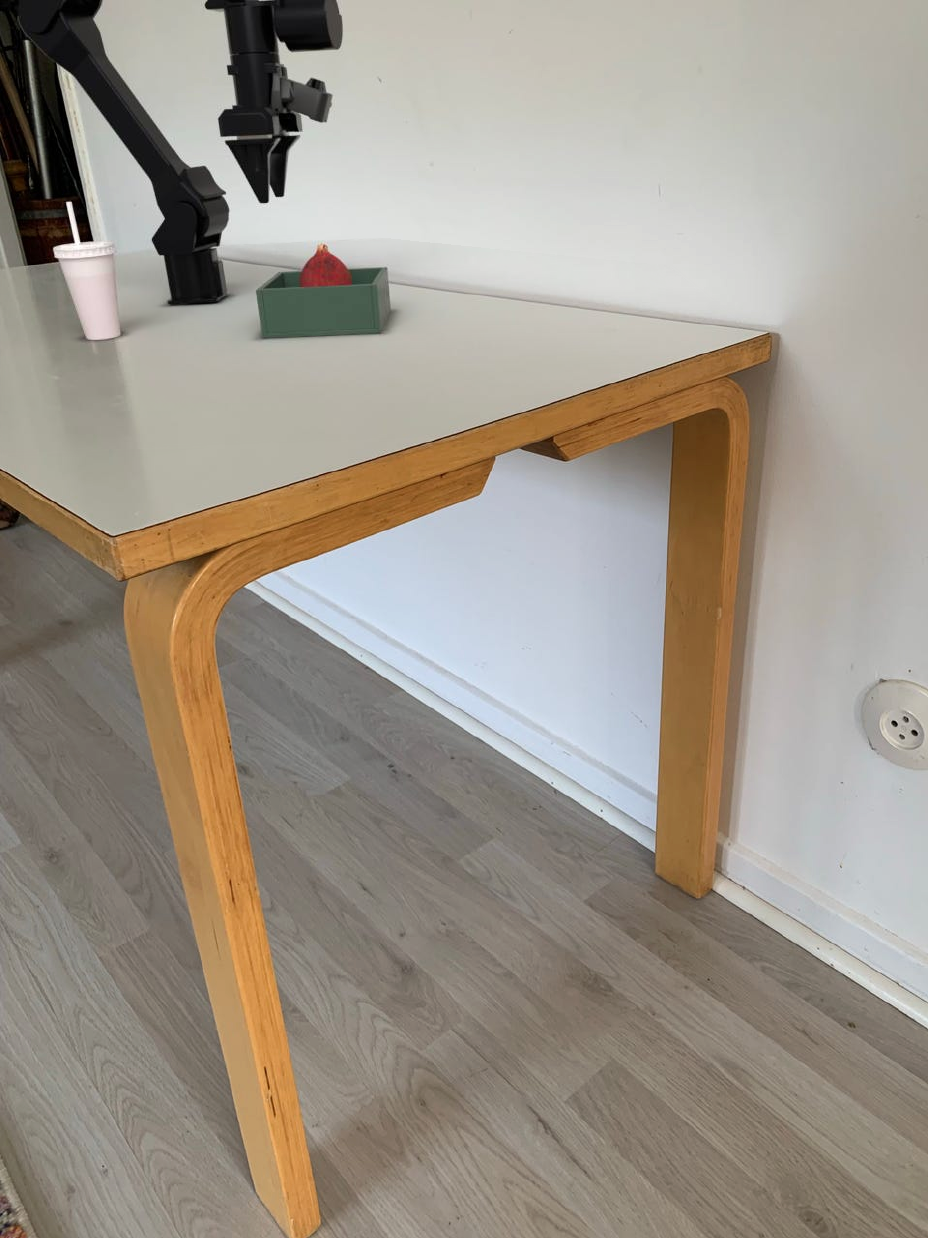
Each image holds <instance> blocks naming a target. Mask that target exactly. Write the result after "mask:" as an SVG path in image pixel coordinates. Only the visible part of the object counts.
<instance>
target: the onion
mask: <svg viewBox="0 0 928 1238" xmlns="http://www.w3.org/2000/svg"><path fill="white" fill-rule="evenodd" d="M348 269H349V268H348V267H347V266H346V265H345V263H344V262H343V261H342V260H341V259H340V258H338V257H337V256H336V255H334V254H333V253H331V252H330V251H329V247H328V245H326V244H325V243H323V242H322V243H320V244H318V245H317V248H316V252H315V253H314V254H313V256H311V257H310V258H309V259H308V260H307V262H305V264H304V266H303V268H302V270H301V271H302V272H301V276H300V287H314V286H337V285H352V278H351V275H350V273H349V271H348Z"/></svg>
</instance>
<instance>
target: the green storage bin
mask: <svg viewBox="0 0 928 1238" xmlns="http://www.w3.org/2000/svg"><path fill="white" fill-rule="evenodd" d="M347 269H348V271H349V273H350V275H351V278H352V285H337V286H314V287H300V276H301V272H302V270H292V271H291V270H290V271H289V270H288V271H278V272H277V273H275V274H274V275H273V276H272V277H271V278H269V279H268V280H267V281H265V282H264V283H263V284H262V285H260V286H259V287H257V289H255V293H256V301H257V308H258V309H257V310H258V316H259V322H260V328H261V329H260V330H261V336H262V339H275V338H278V339H280V338H299V337H302V338H303V337H324V336H348V335H349V336H350V335H370V334H371V335H372V334H381V333H382V331H383V329H384V327H385V324H386V323H387V321H388V318H389V316H390V314H391V311H392V309H391V296H390V284H389V271H388V267H387V266H382V267H381V266H380V267H360V268H359V267H358V268H347Z"/></svg>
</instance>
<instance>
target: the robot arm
mask: <svg viewBox="0 0 928 1238" xmlns="http://www.w3.org/2000/svg"><path fill="white" fill-rule="evenodd" d="M103 1H104V0H19V1H18V5H17V6H18V7H17V10H18V12H17V13H18V16H17V21H18V24H19V26H20V28H21V30H22V32H23V33H24V35H25V36H26V37H27V38H28V39H29V40H30V41H31V42H32V43H33V44H34V45H35V46H36V47H37V48H38V49H39V50H40V51H41V52H42V53H43V54H44V55H45V56H46V57H47V58H48V59H50V60H51V61H52V62H54V63H56V64H57V65H58V66H60V67H61V68H63V69H64V70H65V71H66V72H67V73H68V74H70V75H71V76H72V77H73V78H74V79H75V80H76V81H77V83H78V84H79V86H80V87H81V88H82V90H83V91H84V93H86V95H87V96H88V98H89V99H90V101H91V102H92V103H93V105H94V106H95V107H96V108H97V110H98V111H99V113H100V114H101V115H102V116H103V118H104V120H105V121H106V123H108V125H109V126H110V128H111V129H112V130H113V131H114V133H115V134H116V135H117V137H118V138H119V140H120V141H121V142H122V144H123V145H124V146H125V148H126V149H127V150H128V152H129V153H130V155H131V156H132V157H133V159H134V160H135V161H136V163H137V164H138V166H139V167H140V169H142V171H143V173H144V174H145V175H146V176H147V177H148V179H149V181H150V183H151V186H152V190H153V195H154V197H155V202H156V206H157V207H158V209H159V211H160V213H161V214H162V216H163V219H164V220H163V221H162V223H161V224H160V226H159V227H158V228H157V229H156V231H155V233H154V234H153V236H152V237H151V243H152V244H153V246H154V249H155V250H156V252H157V255H158V256H163V259H164V266H165V271H166V276H167V282H168V288H169V293H170V298H169V299H168V300H167V305H182V304H183V305H184V304H186V305H187V304H204V303H206V304H207V303H208V304H209V303H217V302H219V301H220V300H222V299H223V298H224V297H226V296H227V295H228V287H227V279H226V275H225V267H224V261H223V260H222V259H219V256H218V249H217V247H221V241H222V235H223V232H224V230H226V228H227V226H228V224H229V221H230V206H229V204H228V202H227V200H226V198H225V197H224V196H225V195H227V192H226V191H225V190H224V189H223V188H221V187H220V185H218V183H217V182H216V181H215V179H214V177H213V174H212V173H211V171H210V170H209V168H208V167H207V166H206V165H200V166H199V165H198V166H190V165H188V164H187V163H185V161H183V160H182V158H180V156H179V155H178V153H177V152H176V150H175V148H174V147H173V146H172V144H170V142H169V140H168V139H167V138H166V137H165V135H164V134H163V132H162V131H161V129H160V128H159V127H158V126H157V124H156V122H154V120H153V119H152V117H151V115H150V114H149V113H148V112H147V110H146V109H145V108H144V106H143V105H142V104H141V102H140V101H139V99H138V98H137V97H136V94H134V92H133V91H132V90H131V88H130V87H129V85H128V84H127V82H126V81H125V80H124V78H123V77H122V76H121V74H120V73H119V72H118V70H117V69H116V67H115V66H114V65H113V64H112V62H111V60H110V59H109V57H108V56H107V53H106V49H105V46H104V42H103V37H102V34H101V31H100V29H99V27H98V25H97V23H96V22H95V20H94V19H95V17H96V16H97V14H98V12H99V11H100V9H101V7H102V5H103ZM204 8H205V9H206V10H208V11H213V12H218V13H223V17H224V23H225V29H226V30H225V31H226V38H227V45H228V52H229V60H230V64H226V70H227V76H232V82H233V90H234V97H235V104H232V106H231V107H232V108H224V109H223V111H222V112H221V113H220V114H219V116H218V118H217V121H218V129H219V136H220V138H226V137H228V138H229V137H236V139H226V140H224V143H225V145H226V146H227V147H228V149H229V150H230V152H231V154H232V156H233V158H234V159H235V161H236V163H237V164H238V166H239V168H240V170H241V172H242V174H243V175H244V177H245V179H246V181H247V182H248V184H249V186H250V188H251V190H252V192H253V193H254V195H255V197H256V199H257V201H258V203H259V204H268V203H269V202H270V188H271V190H272V192H273V195H274V196H275V198H283V197H285V191H286V181H287V172H288V163H289V154H290V150H291V149H292V148H293V146H294V145H295V144H296V142H297V141H299V139H301V134H296V135H294V134H293V135H290V133H300V132H303V123H302V121H303V120H302V115H303V116H307V117H308V118H309V119H310V120H312V121H314V122H317V123H321V124H322V123H327V122H328V118H329V114H330V109H331V107H332V105H333V103H332V100H333V95H334V94H332V93H330V92H327V87H326V82H325V81H323V80H320V79H317V78H315V77H310V78H309V79H308V81H307V82H306V83H305V84H304V83H302V82H299V81H295V80H293V79H290V78H289V76H288V69H287V67H286V66H285V64H283V63H281V59H280V49H279V48H280V47H279V43H281V44H285V46H286V49H287V50H288V51H289V52H291V53H303V52H323V51H337V50H340V48H341V46H342V43H343V35H344V34H343V33H344V29H343V28H344V27H343V26H344V25H343V24H344V23H343V16H342V15H341V13H340V9H339V8H340V7H339V4H338V1H337V0H206V1H205V3H204Z"/></svg>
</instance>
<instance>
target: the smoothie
mask: <svg viewBox="0 0 928 1238" xmlns="http://www.w3.org/2000/svg"><path fill="white" fill-rule="evenodd" d="M65 204H66V208H67V213H68V217H69V222H70V226H71V231H72V237H73V241H74V242H73V243H65V244H60V245H56V246H54V247H53V249H52V251H53V254H54V258H55V259H57V260H58V262H59V266H60V268H61V271H62V273H63V276H64V279H65V282H66V285H67V288H68V291H69V293H70V296H71V299H72V302H73V305H74V307H75V310H76V314H77V316H78V319H79V321H80V324H81V328H82V330H83V332H84V335H85V339H86V340H90V341H100V340H101V341H102V340H109V339H114V338H117V337H120V336H121V335H122V334H121V324H120V311H119V302H118V301H119V300H118V290H117V289H118V287H117V277H116V265H115V255H114V254H116V253H117V250H116V246H115V242H112V241H106V240H105V241H86V242H85V241H83V242H81V239H80V238H81V237H80V234H79V230H78V226H77V221H76V216H75V212H74V206H73V203H72V201H66V202H65Z"/></svg>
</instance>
